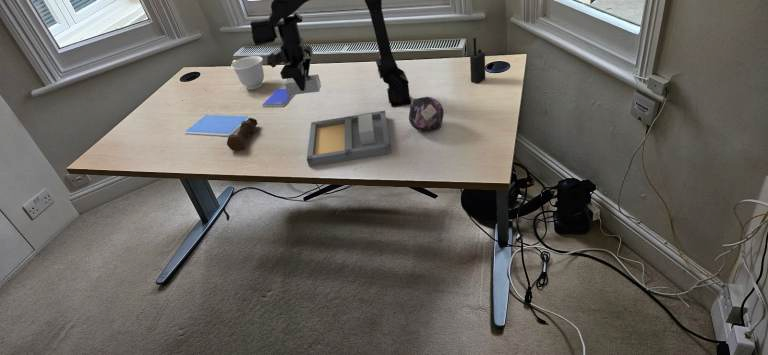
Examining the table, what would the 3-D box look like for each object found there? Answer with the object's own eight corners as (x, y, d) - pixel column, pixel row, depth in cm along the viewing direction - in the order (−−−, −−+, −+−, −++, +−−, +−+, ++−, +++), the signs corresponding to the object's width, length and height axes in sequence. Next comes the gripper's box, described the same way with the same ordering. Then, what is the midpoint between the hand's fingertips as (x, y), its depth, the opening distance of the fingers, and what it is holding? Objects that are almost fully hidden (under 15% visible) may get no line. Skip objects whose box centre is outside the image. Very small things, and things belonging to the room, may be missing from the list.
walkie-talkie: (478, 77, 160) (477, 33, 151) (486, 79, 157) (485, 35, 149) (469, 82, 157) (467, 38, 149) (477, 84, 155) (476, 40, 146)
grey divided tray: (385, 117, 145) (383, 103, 143) (391, 153, 128) (388, 137, 125) (313, 129, 146) (309, 115, 143) (308, 166, 129) (304, 151, 126)
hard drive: (282, 103, 162) (296, 88, 172) (261, 104, 165) (276, 88, 174) (284, 107, 163) (297, 92, 173) (263, 108, 165) (277, 92, 175)
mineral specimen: (403, 133, 132) (403, 97, 130) (415, 129, 142) (415, 95, 140) (437, 134, 129) (437, 98, 126) (447, 130, 138) (447, 95, 136)
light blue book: (183, 135, 157) (182, 132, 156) (206, 116, 166) (205, 113, 166) (231, 138, 150) (229, 134, 150) (252, 119, 160) (251, 115, 159)
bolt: (258, 131, 155) (241, 155, 142) (244, 125, 154) (225, 148, 142) (262, 116, 151) (245, 139, 139) (247, 110, 151) (228, 133, 139)
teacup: (251, 77, 190) (243, 53, 184) (276, 82, 182) (269, 57, 176) (228, 89, 183) (219, 65, 177) (253, 95, 175) (245, 70, 169)
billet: (290, 89, 149) (287, 78, 147) (321, 86, 148) (318, 74, 146) (288, 95, 146) (284, 83, 144) (319, 91, 145) (316, 79, 142)
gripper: (272, 31, 146) (285, 78, 155) (256, 54, 131) (272, 104, 140) (307, 27, 144) (318, 74, 153) (294, 49, 129) (308, 100, 138)
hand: (304, 87), depth 146 cm, fingers closed on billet, 4 cm apart
